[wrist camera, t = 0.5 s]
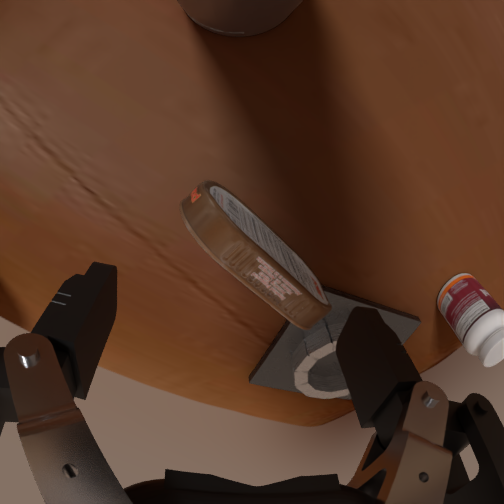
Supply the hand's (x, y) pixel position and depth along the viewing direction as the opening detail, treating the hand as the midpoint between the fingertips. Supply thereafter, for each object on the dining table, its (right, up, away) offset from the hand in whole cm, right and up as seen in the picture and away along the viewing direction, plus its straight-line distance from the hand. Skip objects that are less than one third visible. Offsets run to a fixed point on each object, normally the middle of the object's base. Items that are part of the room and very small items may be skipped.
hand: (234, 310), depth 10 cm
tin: (+1, +4, +19) cm, 19 cm away
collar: (+11, -10, +27) cm, 31 cm away
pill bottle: (+26, -3, +24) cm, 36 cm away
